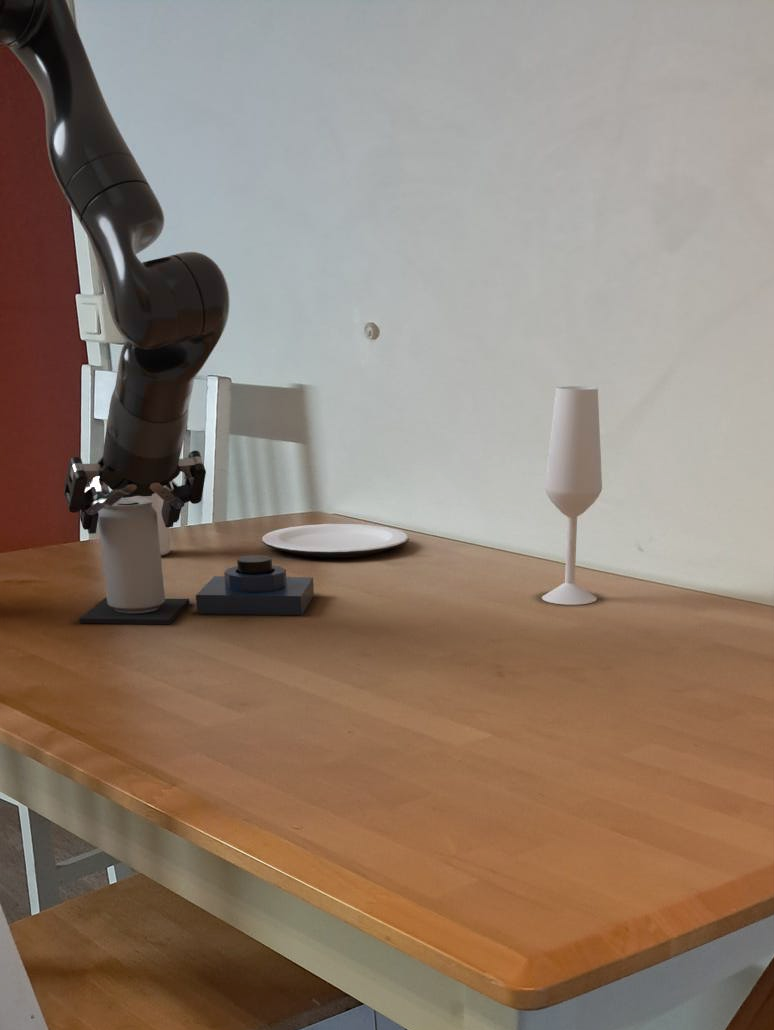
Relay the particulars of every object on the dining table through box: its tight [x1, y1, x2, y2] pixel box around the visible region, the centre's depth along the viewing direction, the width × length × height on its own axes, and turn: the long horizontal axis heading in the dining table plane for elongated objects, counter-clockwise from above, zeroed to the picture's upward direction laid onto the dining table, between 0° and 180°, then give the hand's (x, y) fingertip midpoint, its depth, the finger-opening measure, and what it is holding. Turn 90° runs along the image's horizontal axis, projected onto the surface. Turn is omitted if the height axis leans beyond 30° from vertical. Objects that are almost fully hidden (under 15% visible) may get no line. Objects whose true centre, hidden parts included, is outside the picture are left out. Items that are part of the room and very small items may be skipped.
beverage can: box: [97, 498, 166, 613], centre depth 143 cm, size 6×6×12 cm
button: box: [236, 555, 273, 575], centre depth 148 cm, size 4×4×2 cm
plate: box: [261, 523, 410, 559], centre depth 181 cm, size 21×21×2 cm
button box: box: [195, 564, 315, 616], centre depth 149 cm, size 12×10×4 cm
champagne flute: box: [541, 385, 603, 606], centre depth 149 cm, size 7×7×24 cm
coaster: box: [78, 597, 190, 625], centre depth 146 cm, size 10×10×1 cm
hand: (128, 523), depth 141 cm, fingers open, 8 cm apart
